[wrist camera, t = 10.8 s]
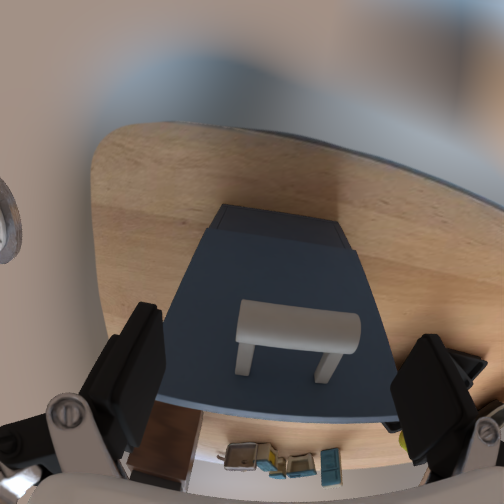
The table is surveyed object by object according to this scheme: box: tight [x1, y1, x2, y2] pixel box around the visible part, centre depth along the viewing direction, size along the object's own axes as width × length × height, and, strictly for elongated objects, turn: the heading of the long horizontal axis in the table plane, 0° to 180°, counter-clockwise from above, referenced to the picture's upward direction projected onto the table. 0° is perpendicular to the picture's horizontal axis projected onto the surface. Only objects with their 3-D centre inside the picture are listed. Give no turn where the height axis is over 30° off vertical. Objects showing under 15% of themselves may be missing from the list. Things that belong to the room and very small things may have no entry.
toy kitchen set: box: [253, 443, 343, 489], centre depth 54 cm, size 18×14×11 cm
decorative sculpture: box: [217, 442, 259, 472], centre depth 58 cm, size 16×10×7 cm, turn 173°
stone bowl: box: [475, 400, 504, 429], centre depth 50 cm, size 25×25×9 cm
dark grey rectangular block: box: [129, 470, 182, 492], centre depth 35 cm, size 9×6×5 cm, turn 81°
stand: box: [126, 400, 203, 493], centre depth 45 cm, size 10×10×18 cm
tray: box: [381, 348, 488, 433], centre depth 43 cm, size 30×23×5 cm
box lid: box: [155, 228, 399, 424], centre depth 18 cm, size 16×14×5 cm
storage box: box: [209, 204, 352, 250], centre depth 34 cm, size 16×14×8 cm
